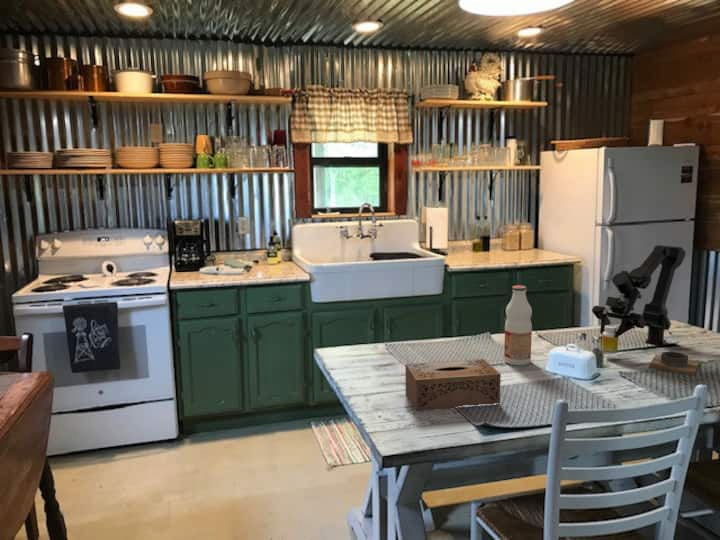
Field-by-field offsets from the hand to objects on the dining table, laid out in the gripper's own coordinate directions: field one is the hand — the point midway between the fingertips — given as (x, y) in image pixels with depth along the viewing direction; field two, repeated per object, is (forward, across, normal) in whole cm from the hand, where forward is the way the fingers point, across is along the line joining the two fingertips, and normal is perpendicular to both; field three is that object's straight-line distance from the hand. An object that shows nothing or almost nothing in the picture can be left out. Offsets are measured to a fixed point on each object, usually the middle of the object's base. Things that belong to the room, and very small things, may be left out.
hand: (608, 335), depth 217 cm
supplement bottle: (+4, 0, +6) cm, 7 cm away
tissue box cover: (+56, -8, -44) cm, 72 cm away
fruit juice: (+26, -18, -13) cm, 34 cm away
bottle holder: (-1, +19, +14) cm, 24 cm away
